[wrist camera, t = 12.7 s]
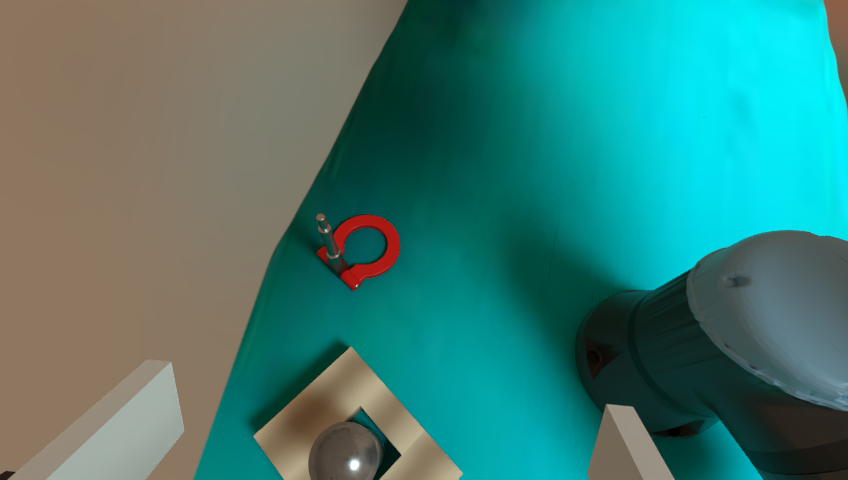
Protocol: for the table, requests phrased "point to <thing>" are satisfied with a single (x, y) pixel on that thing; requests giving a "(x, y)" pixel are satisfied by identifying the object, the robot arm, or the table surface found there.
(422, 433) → the jig
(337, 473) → the domed cap cylinder
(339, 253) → the tow hook
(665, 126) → the table surface
